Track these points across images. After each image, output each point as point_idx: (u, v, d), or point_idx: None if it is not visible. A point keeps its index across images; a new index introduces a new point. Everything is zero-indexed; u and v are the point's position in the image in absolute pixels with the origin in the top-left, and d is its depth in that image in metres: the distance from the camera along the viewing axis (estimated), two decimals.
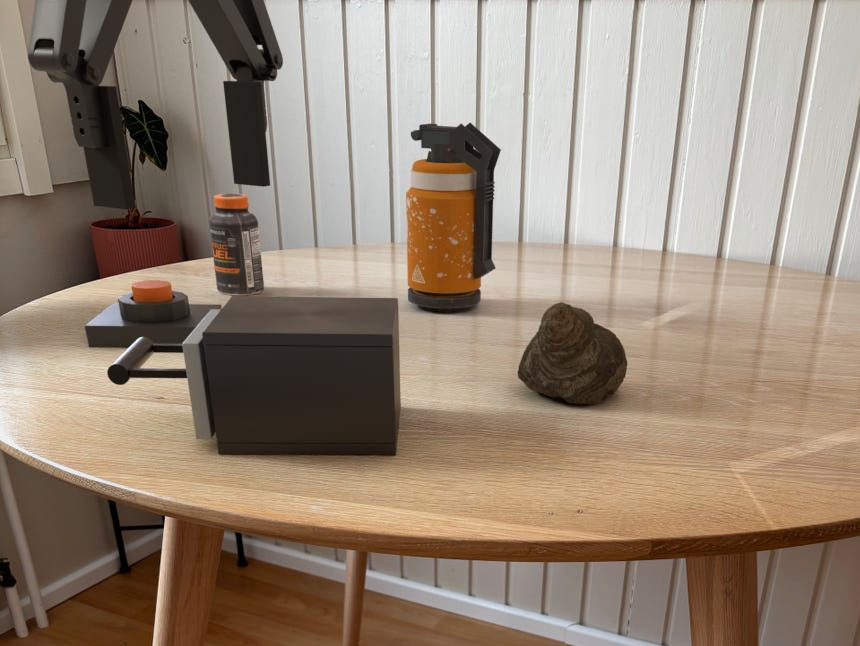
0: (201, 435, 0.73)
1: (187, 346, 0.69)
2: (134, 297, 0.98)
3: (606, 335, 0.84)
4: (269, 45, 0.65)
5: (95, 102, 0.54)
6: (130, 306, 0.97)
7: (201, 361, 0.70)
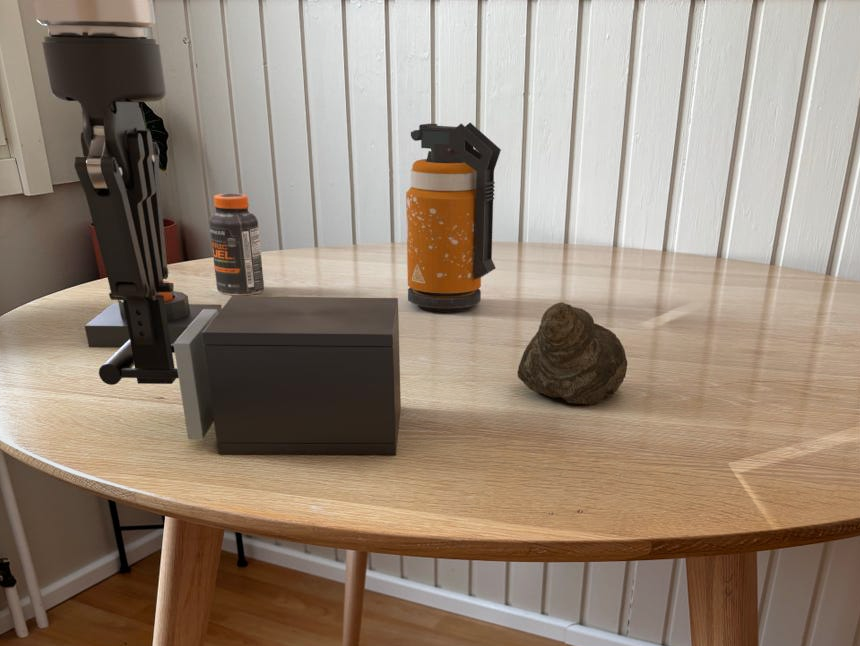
0: (193, 435, 0.73)
1: (178, 346, 0.69)
2: None
3: (606, 335, 0.84)
4: (162, 255, 0.73)
5: (150, 311, 0.72)
6: None
7: (192, 361, 0.70)
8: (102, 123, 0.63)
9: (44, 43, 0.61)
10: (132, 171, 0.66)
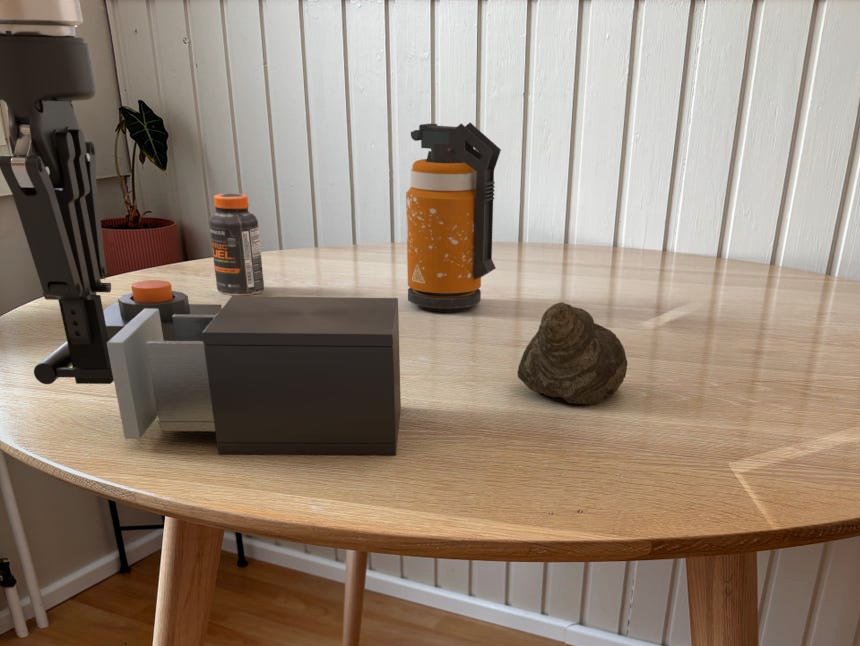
0: (129, 435, 0.72)
1: (112, 345, 0.69)
2: (134, 297, 0.98)
3: (606, 335, 0.84)
4: (100, 255, 0.73)
5: (86, 311, 0.71)
6: (130, 306, 0.97)
7: (127, 360, 0.70)
8: (28, 122, 0.62)
9: None
10: (62, 170, 0.66)
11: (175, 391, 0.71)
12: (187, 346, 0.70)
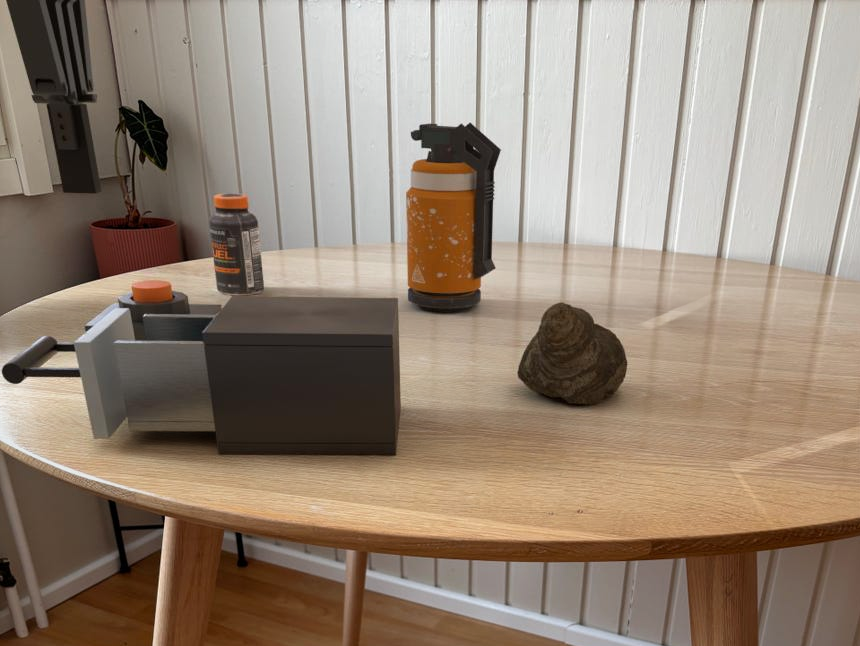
0: (98, 434, 0.72)
1: (79, 345, 0.69)
2: (134, 297, 0.98)
3: (606, 335, 0.84)
4: (87, 67, 0.77)
5: (72, 116, 0.76)
6: (130, 306, 0.97)
7: (94, 360, 0.69)
8: None
9: None
10: None
11: (143, 391, 0.71)
12: (155, 346, 0.70)
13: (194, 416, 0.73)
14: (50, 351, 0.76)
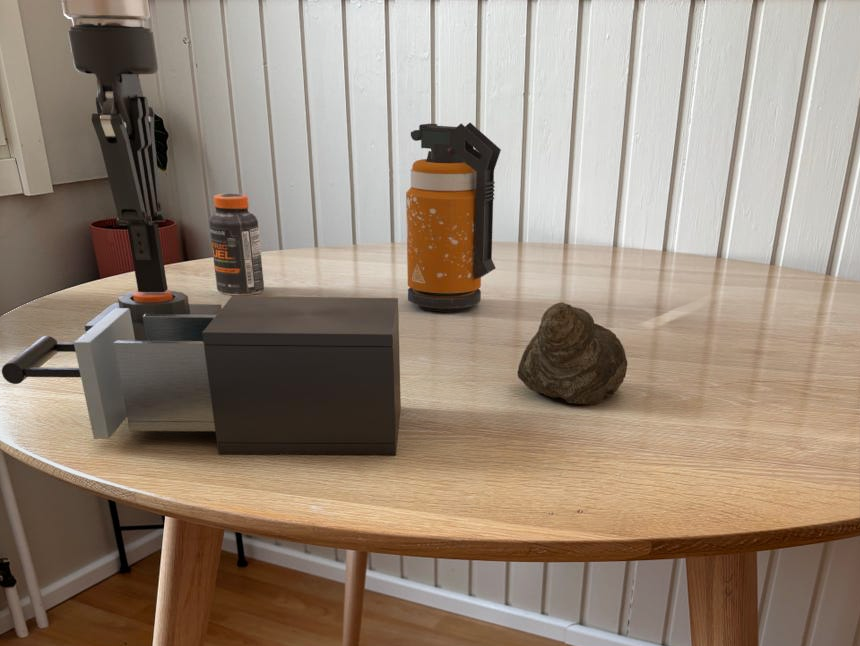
0: (98, 434, 0.72)
1: (79, 345, 0.69)
2: None
3: (606, 335, 0.84)
4: (157, 193, 0.97)
5: (147, 234, 0.95)
6: (130, 306, 0.97)
7: (94, 360, 0.69)
8: (111, 89, 0.86)
9: (70, 31, 0.85)
10: (133, 126, 0.89)
11: (143, 391, 0.71)
12: (155, 346, 0.70)
13: (194, 416, 0.73)
14: (50, 351, 0.76)
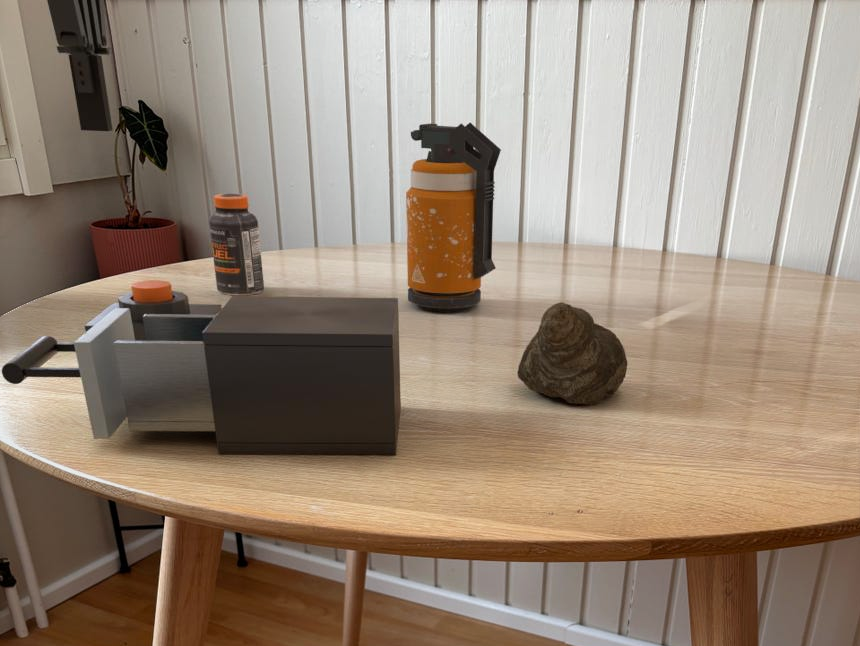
0: (98, 434, 0.72)
1: (79, 345, 0.69)
2: (134, 297, 0.98)
3: (606, 335, 0.84)
4: (102, 25, 0.93)
5: (90, 65, 0.91)
6: (130, 306, 0.97)
7: (94, 360, 0.69)
8: None
9: None
10: None
11: (143, 391, 0.71)
12: (155, 346, 0.70)
13: (194, 416, 0.73)
14: (50, 351, 0.76)
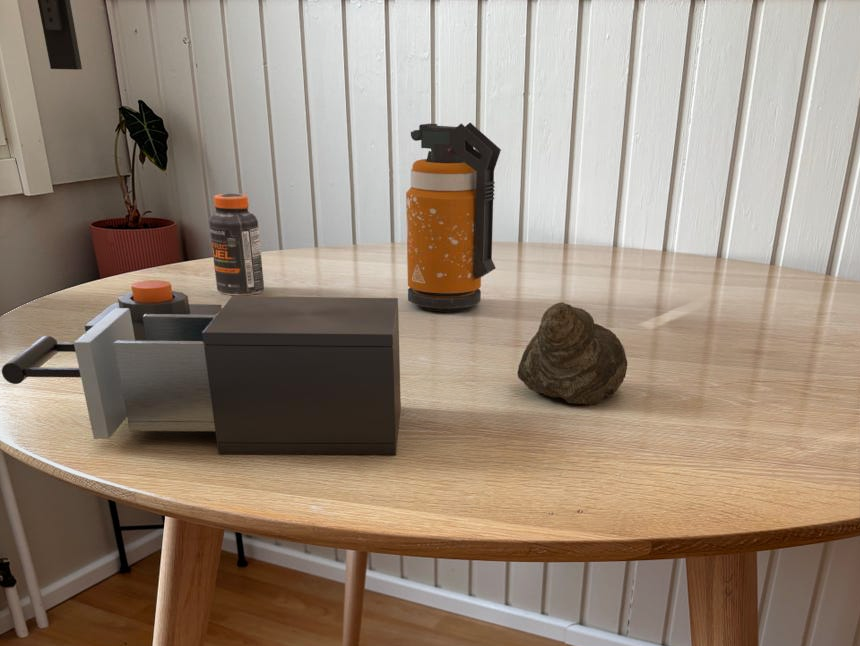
0: (98, 434, 0.72)
1: (79, 345, 0.69)
2: (134, 297, 0.98)
3: (606, 335, 0.84)
4: None
5: (57, 2, 0.93)
6: (130, 306, 0.97)
7: (94, 360, 0.69)
8: None
9: None
10: None
11: (143, 391, 0.71)
12: (155, 346, 0.70)
13: (194, 416, 0.73)
14: (50, 351, 0.76)
